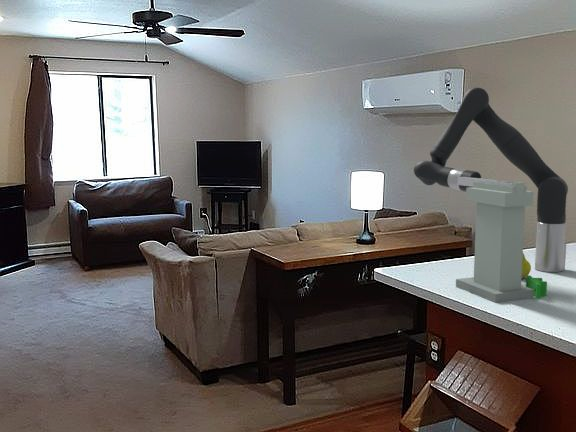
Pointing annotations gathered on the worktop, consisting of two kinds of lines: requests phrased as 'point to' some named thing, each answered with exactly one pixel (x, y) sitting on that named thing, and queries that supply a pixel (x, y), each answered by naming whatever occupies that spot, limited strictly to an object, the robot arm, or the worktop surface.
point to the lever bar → (469, 181)
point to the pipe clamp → (536, 286)
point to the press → (498, 241)
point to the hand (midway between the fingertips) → (505, 188)
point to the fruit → (525, 267)
